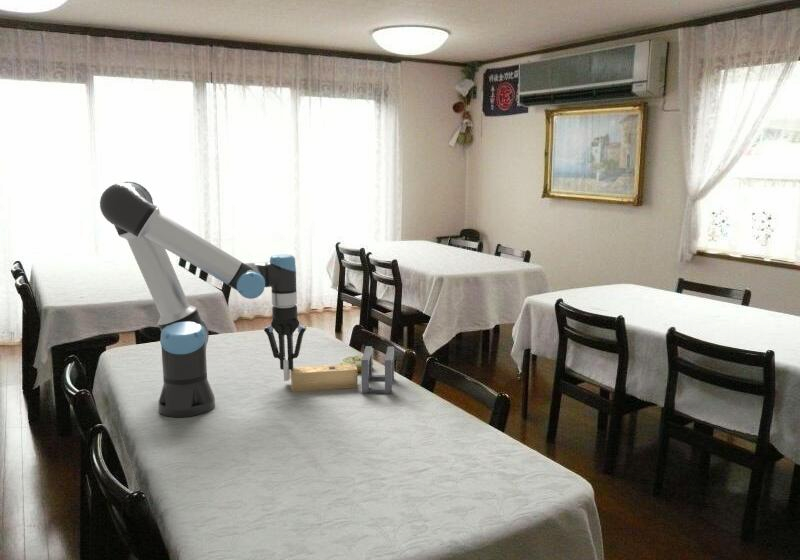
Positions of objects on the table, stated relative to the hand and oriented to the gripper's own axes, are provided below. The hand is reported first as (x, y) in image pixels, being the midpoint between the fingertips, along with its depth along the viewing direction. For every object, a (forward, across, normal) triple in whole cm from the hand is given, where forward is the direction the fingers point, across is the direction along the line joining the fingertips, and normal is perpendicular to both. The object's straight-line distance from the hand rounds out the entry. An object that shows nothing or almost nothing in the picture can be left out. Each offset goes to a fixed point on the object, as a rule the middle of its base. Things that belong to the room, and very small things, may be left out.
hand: (287, 379), depth 203 cm
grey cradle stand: (+2, -28, 0) cm, 29 cm away
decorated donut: (+2, -20, -16) cm, 26 cm away
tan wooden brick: (+2, -12, +1) cm, 12 cm away
